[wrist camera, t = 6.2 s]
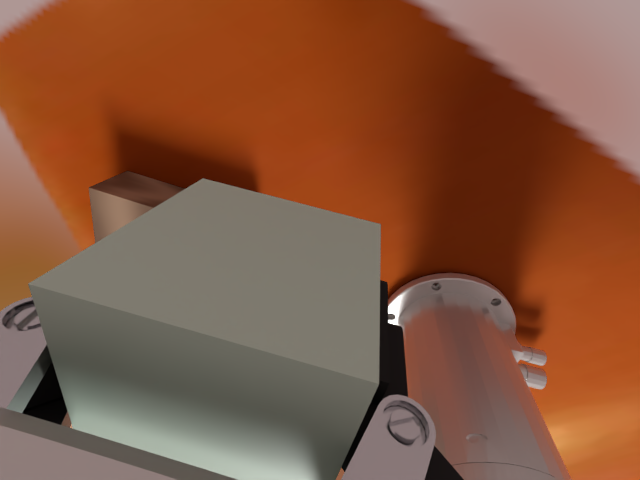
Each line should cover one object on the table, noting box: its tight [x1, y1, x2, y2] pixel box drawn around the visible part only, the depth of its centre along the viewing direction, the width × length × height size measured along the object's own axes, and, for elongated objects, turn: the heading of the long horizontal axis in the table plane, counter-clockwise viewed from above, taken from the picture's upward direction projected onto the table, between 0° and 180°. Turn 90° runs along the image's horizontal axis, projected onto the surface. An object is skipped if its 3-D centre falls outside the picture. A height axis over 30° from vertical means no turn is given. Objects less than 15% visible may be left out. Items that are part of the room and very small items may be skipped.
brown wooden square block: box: [89, 171, 184, 243], centre depth 31 cm, size 13×13×5 cm
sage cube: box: [28, 178, 381, 480], centre depth 9 cm, size 6×6×6 cm
